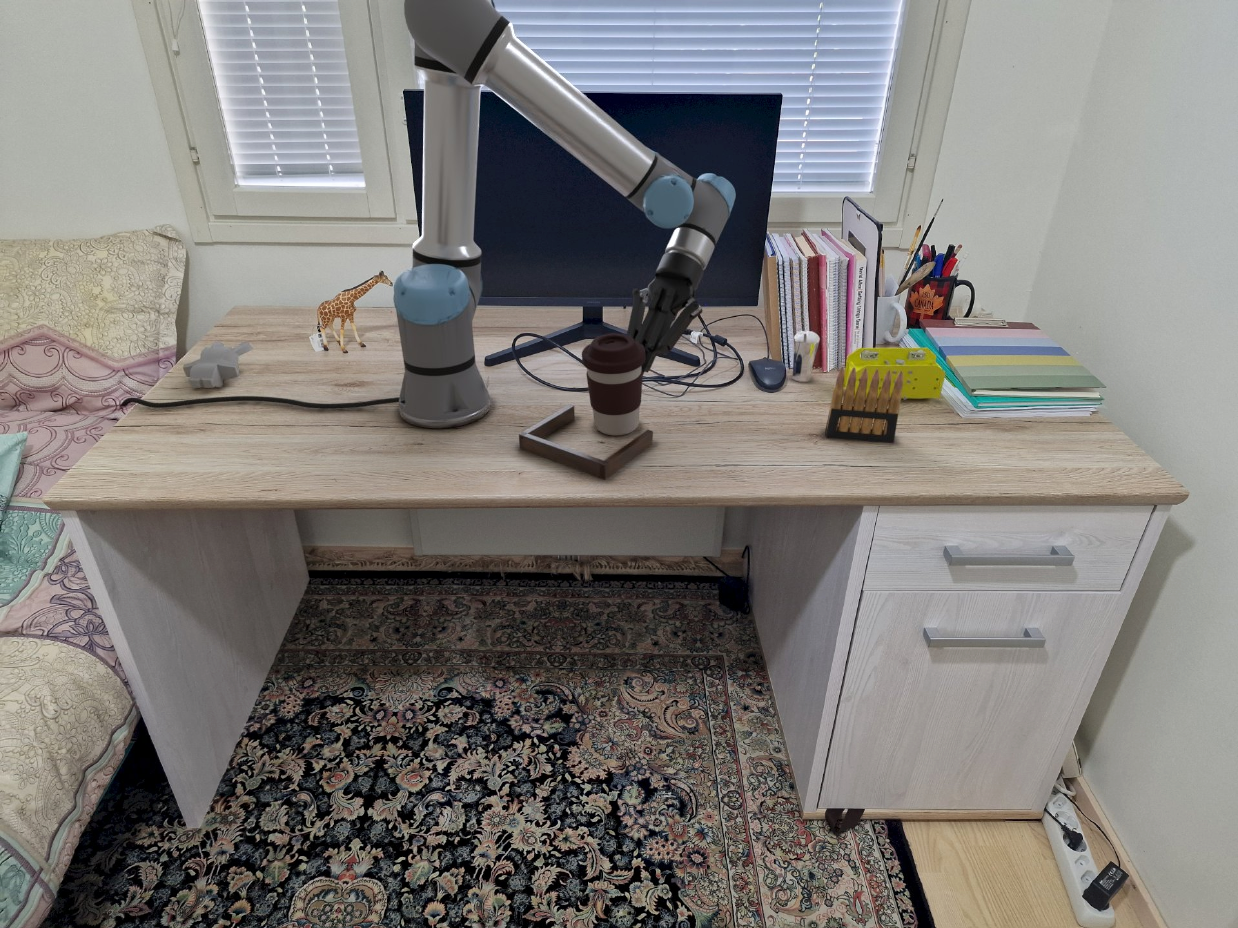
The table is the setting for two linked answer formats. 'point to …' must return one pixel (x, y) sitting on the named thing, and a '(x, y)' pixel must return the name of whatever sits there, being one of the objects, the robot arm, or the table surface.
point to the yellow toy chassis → (917, 371)
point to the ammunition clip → (864, 408)
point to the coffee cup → (614, 382)
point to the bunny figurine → (215, 365)
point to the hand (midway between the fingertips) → (629, 386)
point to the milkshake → (804, 355)
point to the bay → (583, 462)
